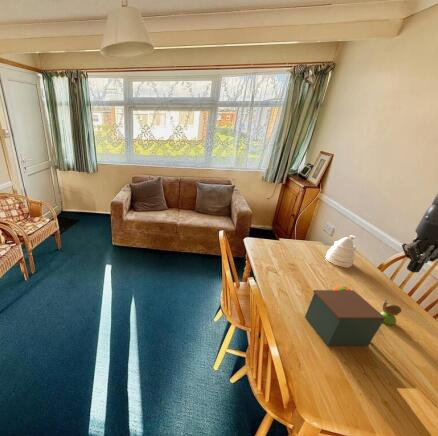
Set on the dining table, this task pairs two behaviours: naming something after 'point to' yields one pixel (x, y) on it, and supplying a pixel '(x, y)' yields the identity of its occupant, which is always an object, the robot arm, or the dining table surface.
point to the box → (340, 326)
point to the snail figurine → (390, 313)
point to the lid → (347, 304)
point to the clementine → (341, 288)
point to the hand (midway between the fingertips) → (412, 270)
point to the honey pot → (342, 252)
